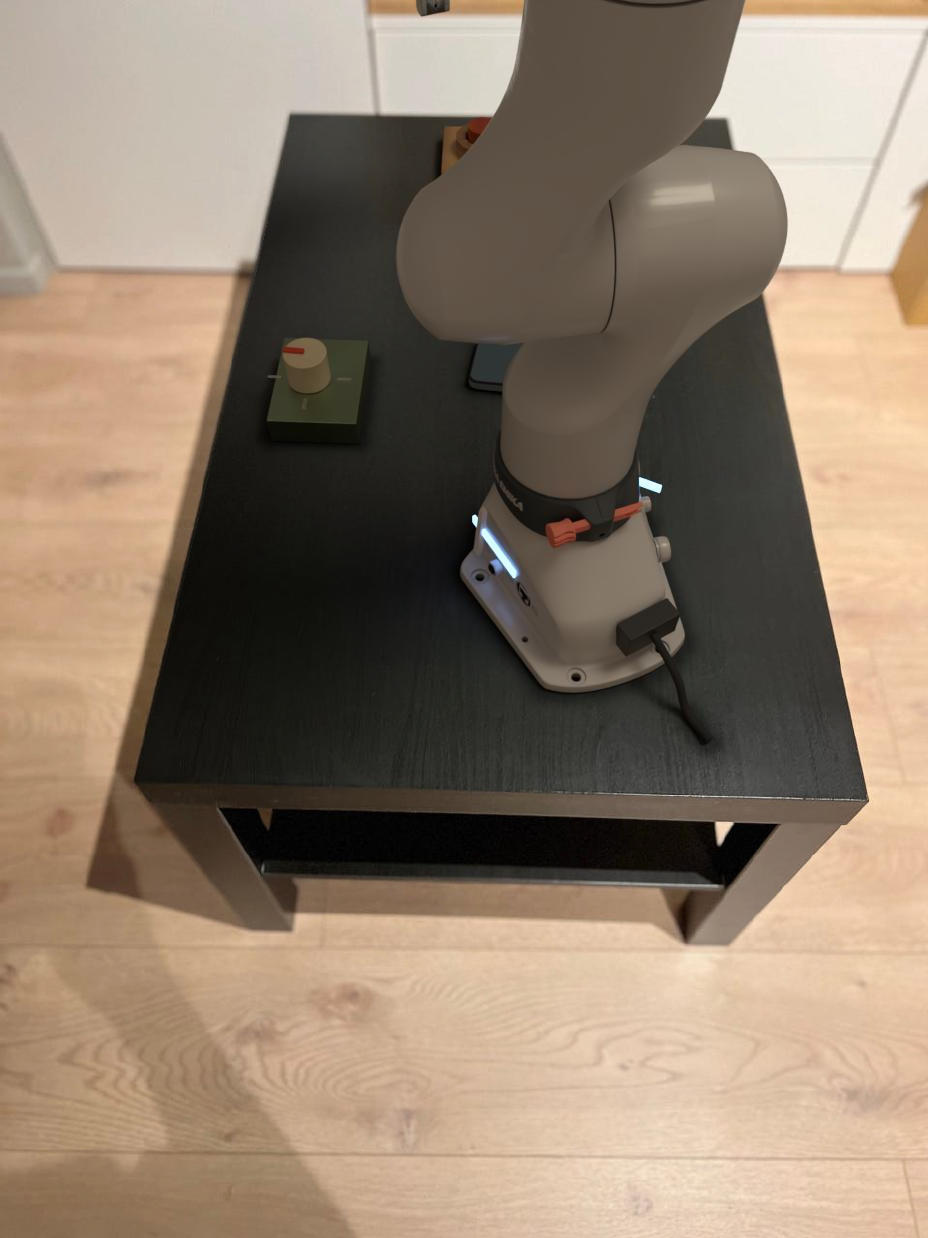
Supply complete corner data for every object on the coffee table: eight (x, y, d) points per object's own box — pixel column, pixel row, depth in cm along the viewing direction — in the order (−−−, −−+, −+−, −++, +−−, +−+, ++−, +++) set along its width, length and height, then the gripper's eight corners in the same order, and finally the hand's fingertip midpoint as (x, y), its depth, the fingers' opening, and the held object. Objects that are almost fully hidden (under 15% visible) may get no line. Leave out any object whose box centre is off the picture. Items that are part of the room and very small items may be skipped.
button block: (521, 142, 128) (522, 113, 125) (521, 189, 123) (522, 159, 119) (444, 142, 128) (443, 112, 125) (441, 188, 123) (440, 159, 120)
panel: (359, 444, 100) (355, 422, 98) (263, 440, 101) (258, 419, 98) (371, 361, 107) (368, 338, 104) (281, 358, 107) (276, 335, 104)
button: (496, 130, 124) (497, 116, 122) (496, 147, 122) (497, 133, 120) (468, 130, 124) (468, 116, 122) (467, 146, 122) (467, 133, 120)
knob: (334, 365, 102) (330, 336, 99) (325, 395, 100) (321, 367, 97) (293, 361, 102) (287, 333, 99) (283, 391, 100) (277, 363, 97)
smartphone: (478, 332, 107) (616, 345, 105) (479, 344, 109) (615, 357, 107) (466, 380, 103) (609, 395, 101) (466, 392, 105) (607, 407, 103)
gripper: (525, -190, 88) (519, -22, 100) (305, -156, 85) (325, 15, 96) (552, -165, 85) (543, 6, 97) (325, -128, 81) (343, 45, 93)
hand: (433, 11), depth 96 cm, fingers closed
